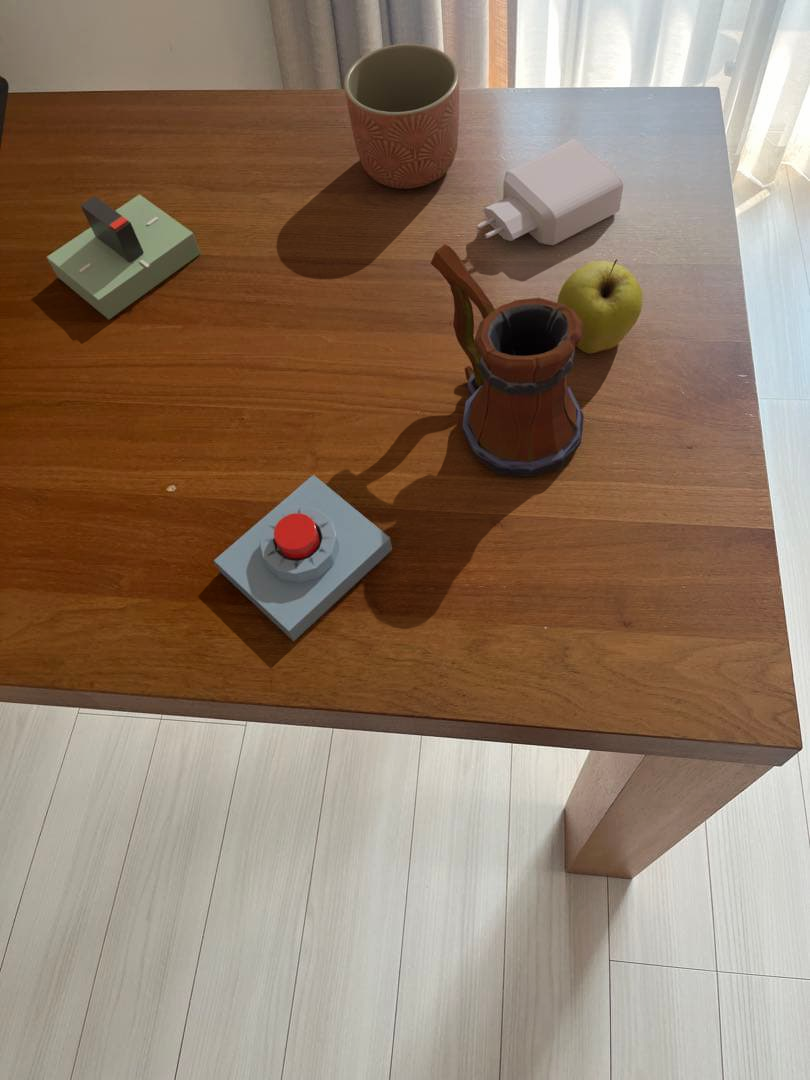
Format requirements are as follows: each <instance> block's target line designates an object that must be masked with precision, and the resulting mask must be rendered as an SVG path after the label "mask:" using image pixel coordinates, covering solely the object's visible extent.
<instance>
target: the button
mask: <svg viewBox="0 0 810 1080" xmlns="http://www.w3.org/2000/svg"><path fill="white" fill-rule="evenodd" d="M274 538H275V541H276V543H277V546H278V548H279V550H280V552H281V553H282V554H283V555H284V556H286V557H288V558H290V559H303V558H306V557H308V556H309V555H311V554H312V553H313V552H314V551H315V550H316V548H317V546H318V544H319V535H318V532H317V529H316V526H315V523H314V521H313V520H312V519H311V518H310V517H308V516H307V515H304V514H300V513H295V514H290V515H287V516H285V517H283V518H282V519H281V520H280V521H279V522H278V523H277V525H276V527H275V530H274Z"/></svg>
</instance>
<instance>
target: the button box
mask: <svg viewBox="0 0 810 1080" xmlns="http://www.w3.org/2000/svg"><path fill="white" fill-rule="evenodd" d="M295 513H300V514H304V515H307V516H308V517H310V518H311V519H312V520H313V521H314V523H315V526H316V529H317V532H318V535H319V544H318V546H317V548H316V550H315V551H314V552H313V553H312V554H311V555H309V556H308V557H306V558H303V559H290V558H288V557H286V556H284V555H283V554H282V553H281V552H280V550H279V548H278V546H277V543H276V541H275V538H274V530H275V527H276V525H277V523H278V522H279V521H280V520H281V519H282V518H283V517H285V516H287V515H290V514H295ZM391 541H392V540H391V537H390V536H389V535H387V534H386V533H385V532H384V531H382V530H381V529H380V528H379V527H377V526H376V524H374V523H373V522H371V520H369V519H368V518H367V517H365V516H364V515H363V514H362V513H361V512H359V511H358V510H357V509H356V508H355V507H353V506H352V505H351V504H350V503H348V502H347V501H346V500H345V499H343V498H342V497H341V496H340V495H339V494H338V493H336V492H335V491H334V490H333V489H332V488H331V487H329V486H328V485H327V484H325V483H324V482H323V481H322V480H321V479H319V478H318V477H317V476H315V474H312V475H311V476H310V477H309V478H308V479H306V480H305V481H304V482H303V483H302V484H300V485H299V486H298V487H297V488H296V489H295V490H294V491H292V492H291V493H290V494H289V495H288V496H287V497H285V498H284V499H283V500H282V501H281V502H280V503H278V505H276V506H275V507H274V508H273V509H272V510H270V511H269V512H268V513H267V514H266V515H264V516H263V517H262V519H260V520H259V521H257V523H256V524H254V525H253V526H252V527H250V529H248V530H247V531H246V532H245V533H244V534H242V535H241V536H240V537H239V538H238V539H237V540H236V541H235V542H233V543H232V544H231V545H230V546H229V547H228V548H226V549H225V550H224V551H223V552H222V553H220V554H219V555H217V557H216V558H215V559H213V562H214V564H215V566H216V567H217V570H218V571H219V572H220V573H221V574H222V576H224V577H225V579H227V580H228V581H229V582H230V583H232V585H233V586H234V587H235V588H236V589H237V590H239V591H240V592H241V594H243V595H244V596H245V597H246V598H247V599H248V600H249V601H250V602H251V603H252V604H253V605H254V606H255V607H256V608H257V609H259V610H260V612H262V614H264V615H265V616H266V617H267V618H268V619H269V620H270V621H271V622H272V623H274V624H275V626H277V627H278V628H279V629H280V630H281V631H282V632H283V633H284V634H285V635H286V636H287V637H288V638H289V639H290V640H291V641H292V642H295V641H296V640H297V639H298V638H299V637H300V636H301V635H303V634H304V633H305V631H307V630H309V628H310V627H311V626H312V625H313V624H315V623H316V622H317V620H318V619H320V617H322V616H323V615H324V614H325V613H326V612H328V610H330V609H331V608H332V607H333V606H334V605H335V604H336V602H338V601H339V600H340V599H341V598H342V597H343V596H344V595H345V594H347V593H348V592H349V591H350V590H351V589H352V588H353V587H354V586H355V585H356V584H357V583H358V582H360V580H362V579H363V578H364V577H365V576H366V575H367V574H368V573H370V572H371V571H372V570H373V568H375V566H376V565H378V564H379V563H380V562H381V561H382V560H384V558H385V557H387V555H388V554H389V553H391V552H392V551H393V546H392V542H391Z"/></svg>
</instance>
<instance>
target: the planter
mask: <svg viewBox="0 0 810 1080" xmlns="http://www.w3.org/2000/svg"><path fill="white" fill-rule="evenodd" d="M343 90H344V94H345V99H346V105H347V109H348V115H349V120H350V125H351V126H350V127H351V130H352V135H353V140H354V145H355V148H356V149H355V150H356V152H357V155H358V158H359V161H360V163H361V166H362V167H363V169H364V171H365V172H366V173H367V175H368V176H369V177H370V178H371V179H373V180H374V181H375V182H377V183H379V184H380V185H383V186H385V187H388V188H393V189H398V190H399V189H400V190H409V189H416V188H421V187H422V188H423V187H424V186H427V185H430V184H431V183H434V182H435V181H437V180H438V179H440V178H442V177H443V176H444V175H445V174H446V172H448V170H449V169H450V168H451V166H452V165H453V162H454V160H455V158H456V155H457V149H458V142H459V129H460V126H459V125H460V71H459V67H458V65H457V64H456V62H455V60H454V59H452V57H451V56H450V55H448V53H446V52H444V51H442V50H441V49H438V48H436V47H433V46H429V45H425V44H419V43H397V44H391V45H387V46H383V47H380V48H377V49H373V50H372V51H370V52H368V53H366V54H364V55H363V56H361V57H360V58H359V59H357V60H356V61H355V62H354V63H353V64H352V65H350V67H349V69H348V71H347V72H346V74H345V77H344V82H343Z"/></svg>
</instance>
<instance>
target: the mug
mask: <svg viewBox="0 0 810 1080" xmlns="http://www.w3.org/2000/svg"><path fill="white" fill-rule="evenodd" d="M430 264H431V265H432V266H433V267H434V268H435V269H436V270H437V271H438V272H439V273H440V274H441V275H442V277H443V278H444V279H445V280H446V282H447V283H448V284H449V287H450V291H451V294H452V298H453V307H454V311H453V323H452V326H453V330H454V334H455V337H456V340H457V342H458V343H459V346H460V347H461V349H462V350H463V352H464V353H465V355H466V357H467V358H468V360H469V361H470V364H471V366H470V365H467V366H465V367H464V373H465V377H466V380H467V381H468V382H467V389H468V391H469V393H470V394H471V395H470V397H468V398H467V399H466V400H465V403H464V409H463V416H462V417H463V418H462V424H461V425H462V428H461V429H462V434H463V436H464V438H465V440H466V443H467V444H468V446H469V448H470V450H471V452H472V454H473V456H474V457H475V458H476V460H478V461H479V462H480V463H482V464H483V465H485V466H486V467H487V468H489V469H491V470H492V471H494V472H495V473H496V474H497V475H499V476H509V477H519V478H520V477H521V478H532V477H533V478H534V477H536V476H540V475H544V474H547V473H550V472H554V471H558V470H561V469H563V467H564V465H565V464H566V463H567V462H568V461H569V459H571V457H572V456H573V454H574V453H575V452H576V451H577V449H578V448H579V447H580V446H581V444H582V438H583V437H582V436H583V426H584V415H585V414H584V412H583V411H582V409H581V407H580V405H579V403H578V401H577V399H576V397H575V395H574V393H573V392H572V389H571V387H570V386H568V373H570V371H571V370H572V369H573V365H574V359H575V358H574V357H575V352H576V351H575V350H576V347H577V344H578V343H579V341H580V339H581V338H582V330H583V323H582V321H581V320H580V318H579V317H578V315H577V314H576V312H575V311H573V310H571V309H569V308H568V305H564V304H560V303H557V301H553V300H549V299H545V298H542V297H535V298H533V297H532V298H525V299H524V298H523V299H517V300H516V299H515V300H514V301H511V302H508V303H505V304H502V305H500V306H498V307H497V308H495V307H494V305H493V304H492V302H491V300H490V299H489V298H488V296H487V295H486V293H485V291H484V290H483V288H481V286H480V285H479V284H478V282H476V281H475V279H474V277H473V276H472V275H471V273H470V272H469V270H468V268H467V267H466V265H465V264H464V262H463V260H462V259H461V257H460V256H459V255H458V254H457V253H456V250H454V249H453V248H452V247H451V246H449V245H447V244H443V245H442V246H440V247H439V248H438V249H436V250H435V252H434V254H433V256H432V259H431V261H430ZM471 301H472V302H471ZM472 303H473V304H474V305H475V306H476V307H477V309H478V311H479V313H480V314H481V318H482V320H481V321H480V322H479V324H478V328H477V330H476V334H475V333H474V331H475V319H474V310H473V305H472ZM474 334H475V335H474Z"/></svg>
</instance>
